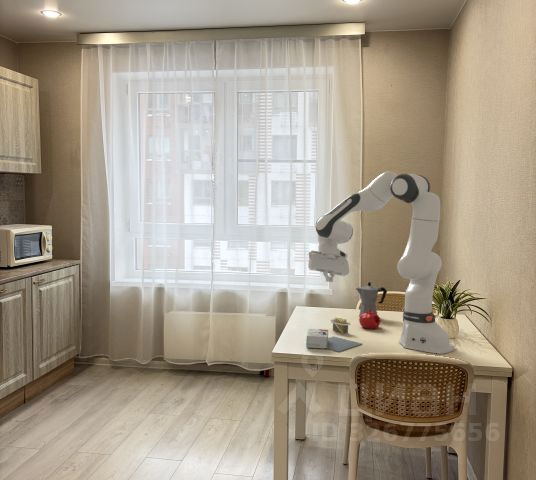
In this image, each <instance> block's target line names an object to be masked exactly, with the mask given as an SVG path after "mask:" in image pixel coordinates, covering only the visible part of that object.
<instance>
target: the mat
mask: <svg viewBox="0 0 536 480" xmlns="http://www.w3.org/2000/svg"><path fill="white" fill-rule="evenodd" d="M359 346H363V343H361V342H357V341H353V340H350V339H345V338H342V337H337V336H335V335H334V336H331V337H328V344H327V348H326V350H329V349H330V350H329V351H332V350H333V351H332V352H336V353H341V351H342V352H344V351H346V350H347V351H348V350H349V349H353V348H355V347H356V348H357V347H359Z"/></svg>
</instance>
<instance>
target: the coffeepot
mask: <svg viewBox="0 0 536 480" xmlns="http://www.w3.org/2000/svg"><path fill="white" fill-rule="evenodd" d="M355 290H356V291H357V293H358V294H359V296H360V301H361V305H360V310H359V315H358V317H359V318H360V316H361V315H362V314H364V312H365V311H366V312H365V313H367V312H368V313H369V308H371V312H375V314H377V315H378V311H377V310H378V309H377V305H376V302H377V300H378V299H377V298H378V294H379V292H382V296H381V298H380V301H378V304H383V303H384V301H385V298H386V295H387V292H388V291H387V289H386V288H385V287H383V286H381V287H380V286H379V287H378V286H377V287H376V286H372V282H370V281H369V282H367V285H365V286H361V287H357V288H355ZM376 312H377V313H376Z"/></svg>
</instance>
